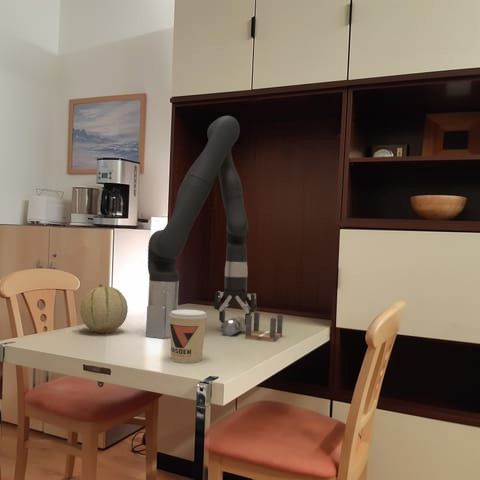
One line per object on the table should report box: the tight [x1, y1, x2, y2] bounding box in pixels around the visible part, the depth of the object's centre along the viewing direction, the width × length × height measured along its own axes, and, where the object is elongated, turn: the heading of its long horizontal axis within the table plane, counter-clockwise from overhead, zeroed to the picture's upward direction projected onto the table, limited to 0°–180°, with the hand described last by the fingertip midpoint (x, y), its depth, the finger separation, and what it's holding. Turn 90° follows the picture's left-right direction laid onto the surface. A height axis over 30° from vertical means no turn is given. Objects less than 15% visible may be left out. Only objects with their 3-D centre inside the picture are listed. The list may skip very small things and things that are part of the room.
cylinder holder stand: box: [244, 311, 284, 343], centre depth 157 cm, size 10×9×7 cm
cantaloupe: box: [79, 283, 129, 334], centre depth 154 cm, size 15×15×15 cm
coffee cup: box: [170, 309, 208, 364], centre depth 124 cm, size 9×9×12 cm
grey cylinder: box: [220, 315, 246, 337], centre depth 162 cm, size 11×5×5 cm, turn 161°
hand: (234, 323), depth 163 cm, fingers open, 8 cm apart
